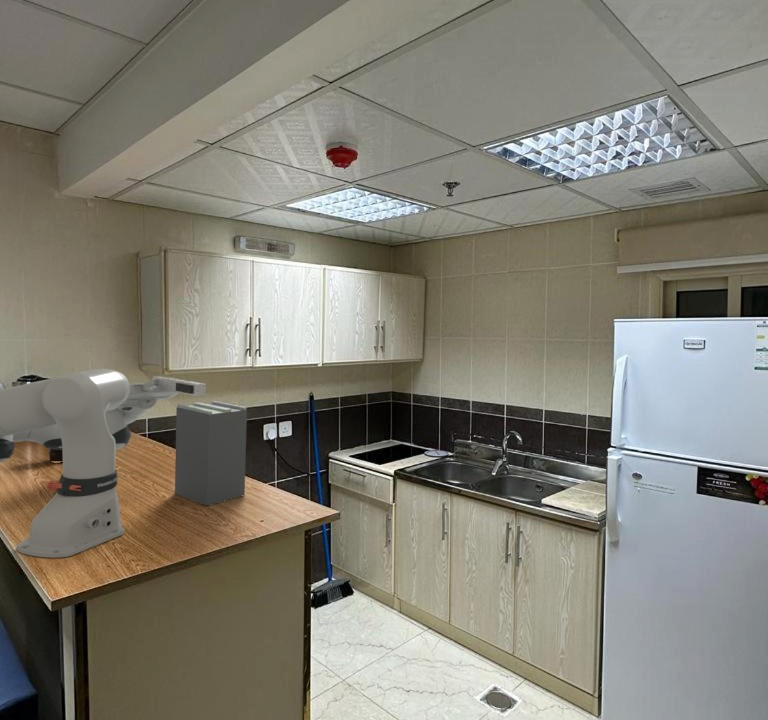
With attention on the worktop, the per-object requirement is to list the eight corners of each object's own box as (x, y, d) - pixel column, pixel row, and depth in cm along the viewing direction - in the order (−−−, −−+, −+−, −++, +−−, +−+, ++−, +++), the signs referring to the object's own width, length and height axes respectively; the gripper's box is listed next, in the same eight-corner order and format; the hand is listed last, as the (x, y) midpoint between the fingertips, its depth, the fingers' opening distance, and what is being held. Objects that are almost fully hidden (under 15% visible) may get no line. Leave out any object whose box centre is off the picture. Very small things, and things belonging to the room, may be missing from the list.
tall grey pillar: (244, 495, 157) (246, 407, 155) (206, 506, 146) (209, 411, 145) (212, 484, 166) (214, 400, 165) (174, 493, 156) (176, 404, 154)
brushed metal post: (205, 395, 154) (205, 383, 154) (194, 396, 151) (195, 384, 151) (161, 386, 169) (161, 376, 168) (150, 387, 166) (151, 376, 165)
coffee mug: (72, 463, 183) (72, 435, 182) (43, 464, 180) (43, 436, 179) (78, 455, 194) (78, 428, 193) (51, 456, 190) (51, 429, 190)
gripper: (173, 404, 181) (193, 388, 173) (113, 410, 164) (132, 392, 157) (168, 387, 182) (188, 371, 175) (108, 391, 166) (127, 373, 158)
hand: (161, 381), depth 166 cm, fingers closed on brushed metal post, 3 cm apart
